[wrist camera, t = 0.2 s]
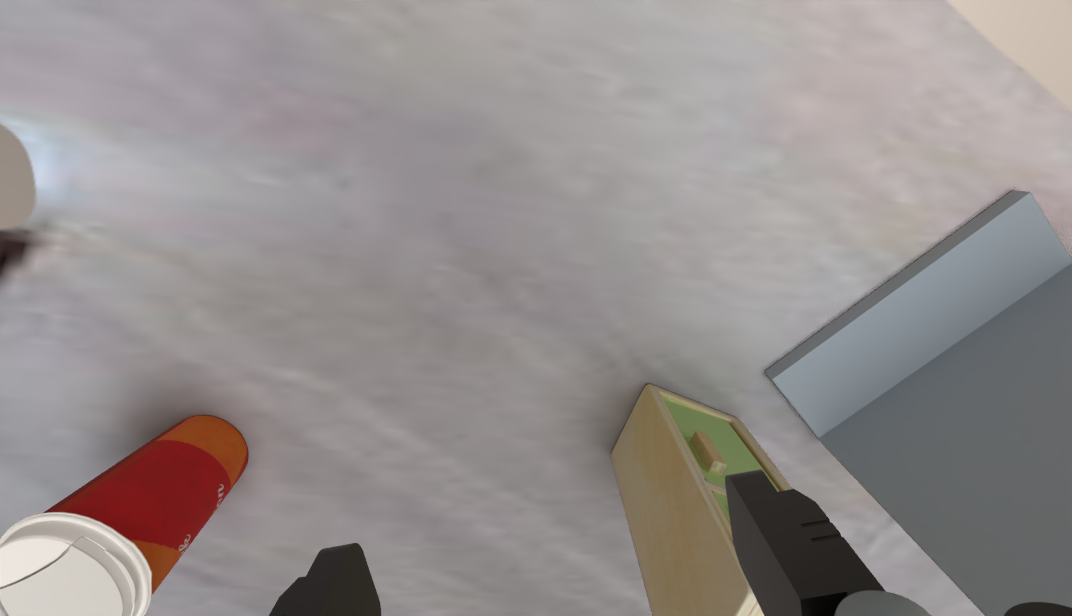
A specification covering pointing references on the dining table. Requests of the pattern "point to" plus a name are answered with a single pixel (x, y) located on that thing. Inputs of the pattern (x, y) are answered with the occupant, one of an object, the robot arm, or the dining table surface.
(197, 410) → the dining table surface
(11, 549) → the coffee cup
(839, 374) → the wall board
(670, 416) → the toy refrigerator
